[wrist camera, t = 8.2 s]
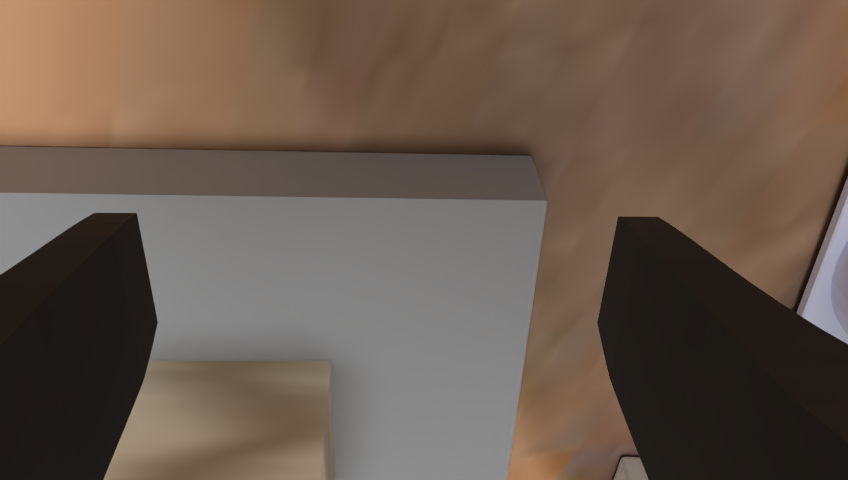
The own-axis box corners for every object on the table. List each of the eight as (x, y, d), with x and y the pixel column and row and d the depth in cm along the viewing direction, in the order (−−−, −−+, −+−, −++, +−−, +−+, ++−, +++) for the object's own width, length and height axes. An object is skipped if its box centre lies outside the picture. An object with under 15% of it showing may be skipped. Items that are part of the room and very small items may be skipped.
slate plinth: (531, 155, 21) (547, 200, 19) (484, 528, 30) (491, 587, 28) (-70, 144, 20) (-121, 190, 18) (59, 532, 29) (34, 594, 27)
